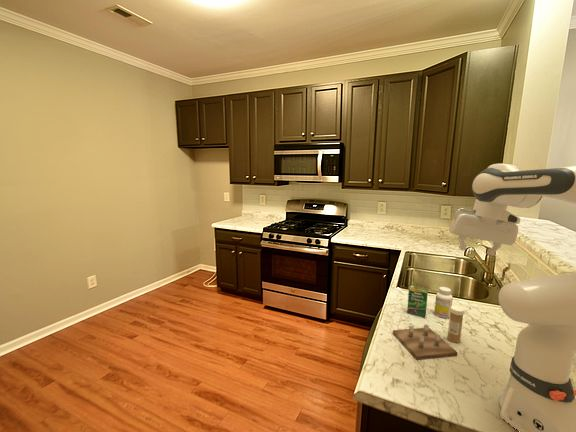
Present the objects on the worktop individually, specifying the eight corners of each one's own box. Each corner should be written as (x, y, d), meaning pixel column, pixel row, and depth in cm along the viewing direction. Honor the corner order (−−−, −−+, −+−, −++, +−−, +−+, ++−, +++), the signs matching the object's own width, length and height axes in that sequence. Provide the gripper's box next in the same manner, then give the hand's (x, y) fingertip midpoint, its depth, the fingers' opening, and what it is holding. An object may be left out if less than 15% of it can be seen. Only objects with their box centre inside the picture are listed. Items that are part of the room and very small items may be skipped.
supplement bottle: (440, 310, 134) (443, 284, 132) (453, 316, 128) (457, 290, 126) (430, 313, 131) (433, 287, 129) (444, 319, 125) (447, 293, 123)
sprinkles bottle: (462, 341, 109) (467, 309, 107) (455, 344, 108) (459, 311, 105) (451, 335, 114) (455, 304, 111) (444, 337, 112) (448, 306, 109)
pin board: (456, 355, 101) (458, 341, 100) (416, 359, 98) (418, 345, 97) (428, 330, 116) (429, 318, 115) (392, 333, 114) (393, 321, 113)
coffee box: (406, 313, 130) (408, 286, 128) (407, 310, 133) (409, 284, 131) (425, 318, 126) (428, 291, 124) (425, 315, 129) (428, 288, 126)
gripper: (461, 207, 90) (450, 248, 93) (526, 220, 89) (512, 260, 92) (451, 205, 97) (441, 243, 99) (512, 217, 96) (499, 255, 98)
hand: (476, 252), depth 95 cm, fingers open, 8 cm apart
